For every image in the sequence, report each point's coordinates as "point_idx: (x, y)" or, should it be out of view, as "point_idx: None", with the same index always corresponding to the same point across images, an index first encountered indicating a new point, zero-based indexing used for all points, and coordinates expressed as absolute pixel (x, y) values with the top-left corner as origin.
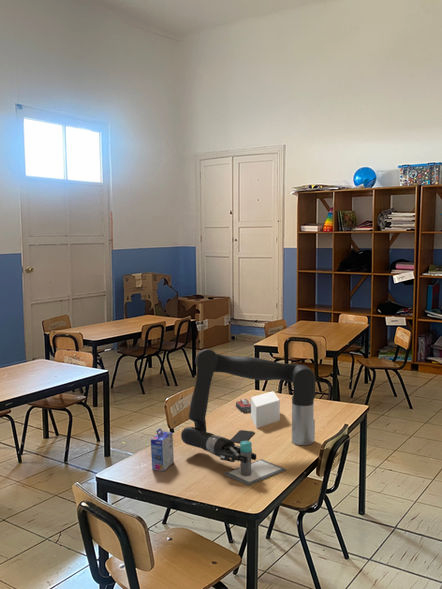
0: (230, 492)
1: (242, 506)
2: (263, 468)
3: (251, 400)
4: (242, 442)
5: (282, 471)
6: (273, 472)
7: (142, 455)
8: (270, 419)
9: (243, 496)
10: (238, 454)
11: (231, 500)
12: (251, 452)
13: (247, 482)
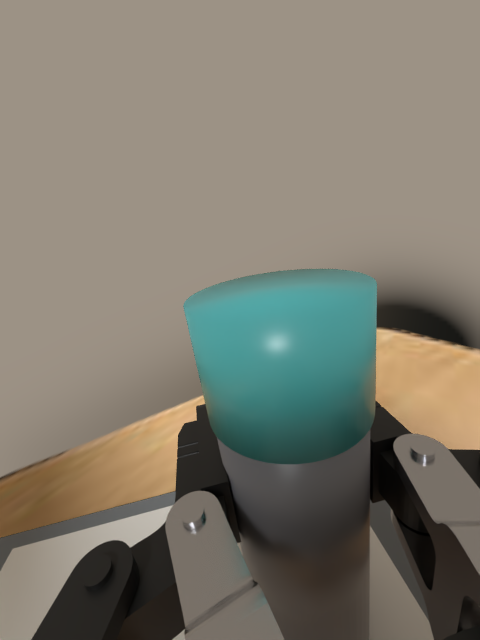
0: (470, 425)
1: (409, 348)
2: None
3: None
4: (324, 294)
5: (36, 535)
6: (106, 523)
7: None
8: None
9: (396, 386)
10: (408, 449)
11: (457, 376)
12: (199, 452)
13: None
